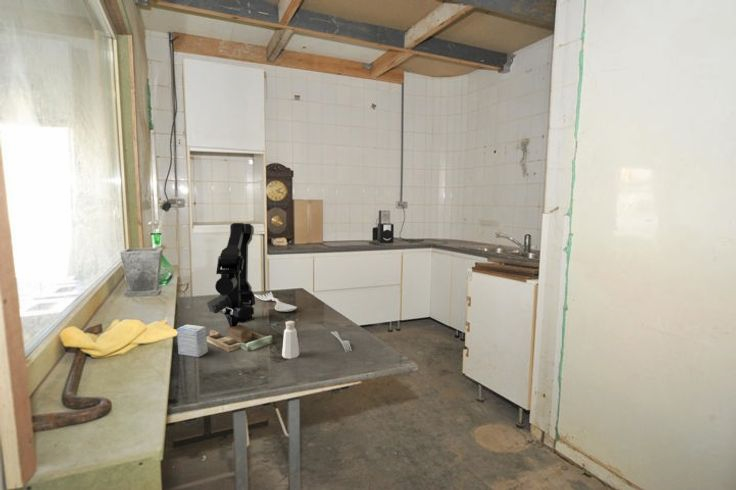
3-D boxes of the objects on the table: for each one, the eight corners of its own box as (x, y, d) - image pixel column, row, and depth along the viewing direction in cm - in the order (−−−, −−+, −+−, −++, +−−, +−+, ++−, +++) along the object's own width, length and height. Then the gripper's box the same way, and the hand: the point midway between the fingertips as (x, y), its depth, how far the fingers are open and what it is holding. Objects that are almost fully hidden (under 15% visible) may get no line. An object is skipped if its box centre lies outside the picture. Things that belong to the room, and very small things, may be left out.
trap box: (233, 327, 148) (233, 321, 147) (272, 342, 132) (272, 335, 132) (198, 337, 137) (198, 330, 137) (236, 355, 122) (236, 347, 122)
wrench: (275, 323, 154) (275, 321, 153) (298, 338, 138) (298, 335, 138) (263, 326, 151) (263, 323, 151) (286, 341, 135) (286, 338, 135)
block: (239, 335, 140) (239, 324, 139) (252, 339, 136) (251, 328, 135) (228, 338, 136) (228, 327, 136) (241, 343, 132) (240, 332, 131)
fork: (336, 338, 145) (336, 330, 145) (353, 353, 125) (353, 344, 125) (329, 338, 144) (329, 331, 144) (345, 354, 124) (345, 345, 124)
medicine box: (208, 352, 124) (206, 326, 123) (197, 358, 120) (196, 331, 119) (188, 349, 127) (187, 323, 126) (177, 354, 122) (176, 328, 121)
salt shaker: (291, 360, 119) (290, 325, 117) (278, 356, 121) (277, 322, 120) (302, 354, 123) (302, 321, 122) (290, 350, 126) (289, 318, 125)
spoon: (271, 297, 194) (270, 290, 193) (300, 312, 168) (300, 305, 168) (253, 300, 188) (253, 293, 188) (281, 316, 163) (281, 308, 162)
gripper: (196, 287, 137) (198, 330, 138) (224, 296, 125) (226, 342, 127) (225, 282, 145) (226, 322, 147) (254, 290, 133) (255, 333, 135)
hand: (233, 330), depth 139 cm, fingers closed
